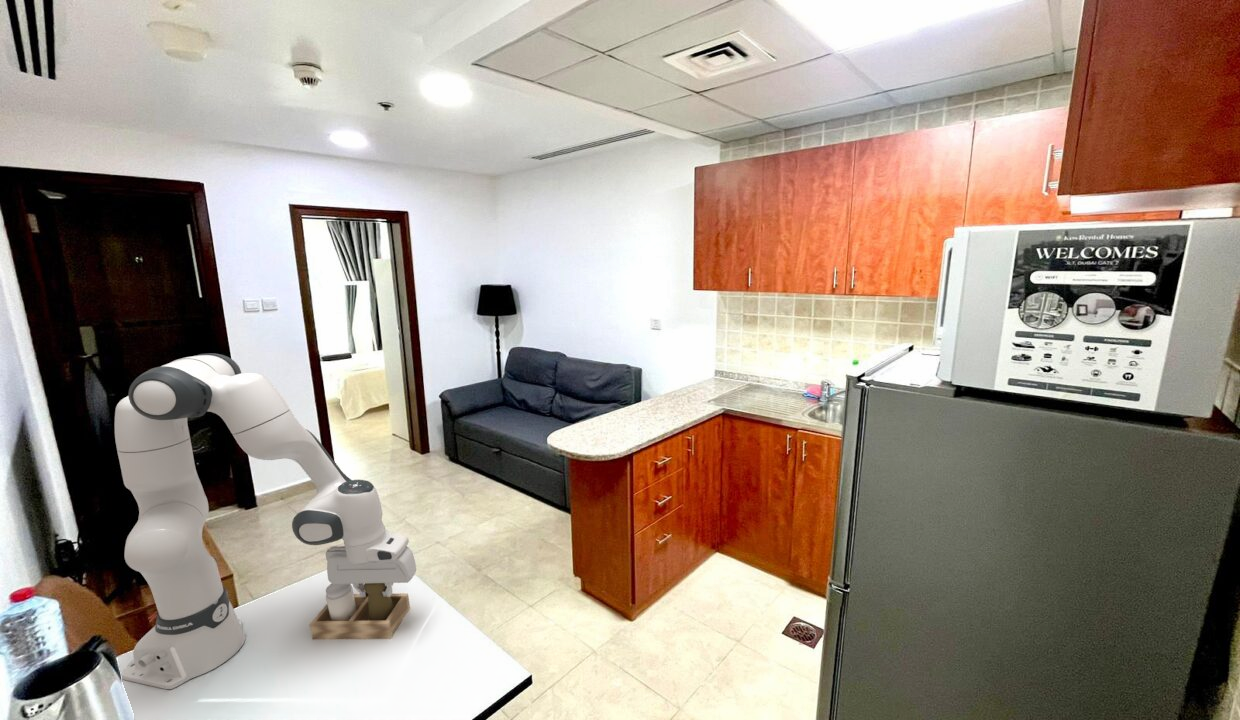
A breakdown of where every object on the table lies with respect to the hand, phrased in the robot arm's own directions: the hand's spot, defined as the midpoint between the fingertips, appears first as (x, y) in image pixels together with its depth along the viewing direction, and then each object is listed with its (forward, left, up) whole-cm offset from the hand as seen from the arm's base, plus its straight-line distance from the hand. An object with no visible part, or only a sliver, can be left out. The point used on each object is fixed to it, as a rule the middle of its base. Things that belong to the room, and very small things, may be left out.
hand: (376, 595), depth 115 cm
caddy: (-5, 0, -9) cm, 10 cm away
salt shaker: (-9, 0, -8) cm, 12 cm away
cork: (0, 0, -7) cm, 7 cm away
